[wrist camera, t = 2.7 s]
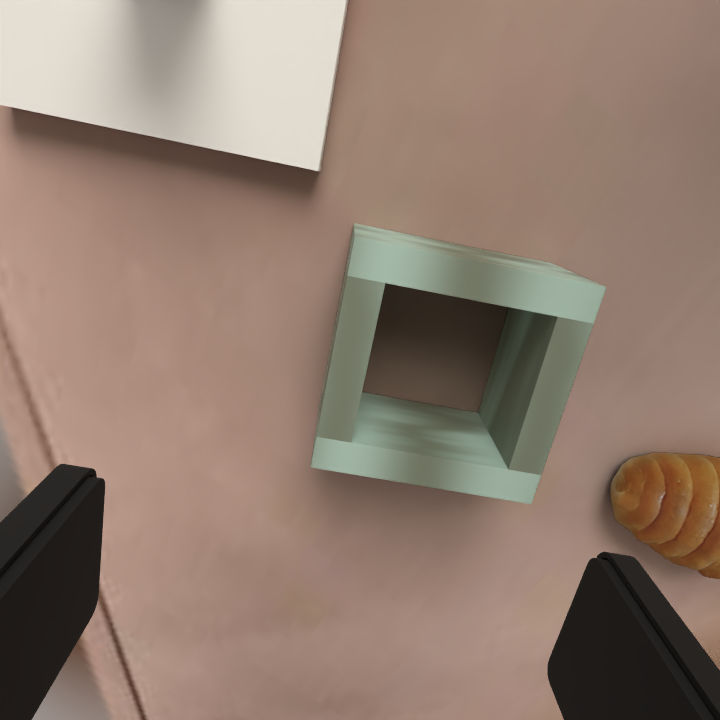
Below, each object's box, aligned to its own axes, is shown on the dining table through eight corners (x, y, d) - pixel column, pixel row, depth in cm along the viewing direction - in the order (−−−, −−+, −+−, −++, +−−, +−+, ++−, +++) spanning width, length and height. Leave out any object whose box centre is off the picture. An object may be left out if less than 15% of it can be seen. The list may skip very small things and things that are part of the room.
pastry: (580, 521, 32) (609, 564, 28) (633, 421, 30) (672, 454, 26) (718, 561, 33) (764, 608, 30) (778, 467, 31) (835, 505, 28)
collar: (552, 263, 27) (606, 287, 21) (497, 441, 30) (531, 504, 24) (354, 223, 26) (354, 236, 20) (318, 410, 29) (310, 467, 24)
